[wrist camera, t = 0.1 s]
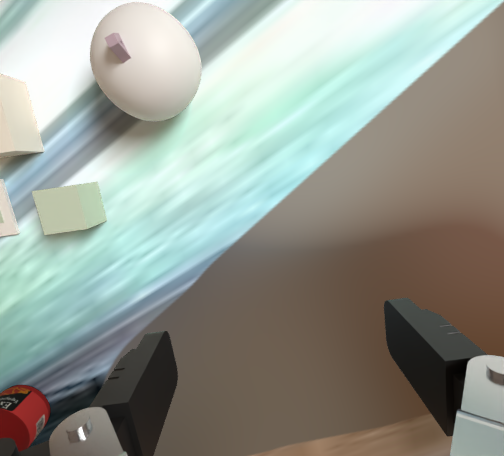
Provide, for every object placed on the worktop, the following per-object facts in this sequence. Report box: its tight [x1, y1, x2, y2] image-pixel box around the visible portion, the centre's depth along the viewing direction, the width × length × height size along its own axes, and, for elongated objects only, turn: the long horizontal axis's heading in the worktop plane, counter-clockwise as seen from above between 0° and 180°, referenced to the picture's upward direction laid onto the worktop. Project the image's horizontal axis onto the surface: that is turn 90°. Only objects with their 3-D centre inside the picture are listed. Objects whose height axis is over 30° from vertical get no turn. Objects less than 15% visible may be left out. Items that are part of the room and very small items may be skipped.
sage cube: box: [32, 182, 107, 235], centre depth 38 cm, size 5×5×5 cm
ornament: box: [90, 2, 202, 122], centre depth 31 cm, size 10×10×12 cm
